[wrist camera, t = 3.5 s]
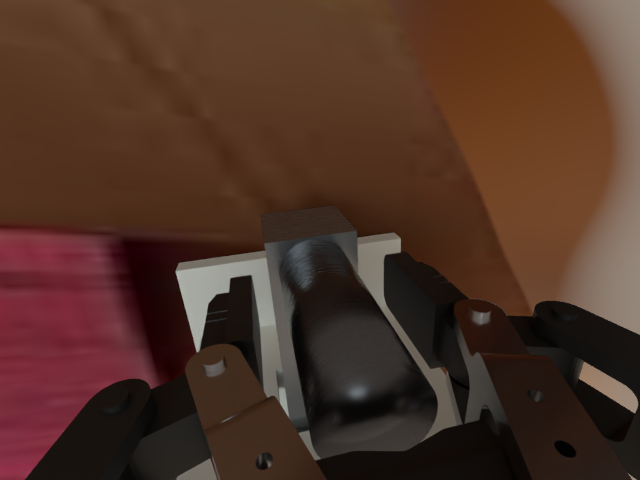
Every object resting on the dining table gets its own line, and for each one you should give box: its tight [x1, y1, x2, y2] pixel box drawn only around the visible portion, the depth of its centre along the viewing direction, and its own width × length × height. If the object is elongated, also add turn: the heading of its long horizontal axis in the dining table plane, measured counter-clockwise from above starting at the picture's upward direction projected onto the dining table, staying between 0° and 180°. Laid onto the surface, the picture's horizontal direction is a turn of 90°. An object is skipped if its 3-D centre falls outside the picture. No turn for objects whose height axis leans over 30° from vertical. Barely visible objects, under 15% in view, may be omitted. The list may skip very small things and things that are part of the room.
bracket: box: [176, 233, 457, 480], centre depth 22 cm, size 15×24×13 cm, turn 4°
